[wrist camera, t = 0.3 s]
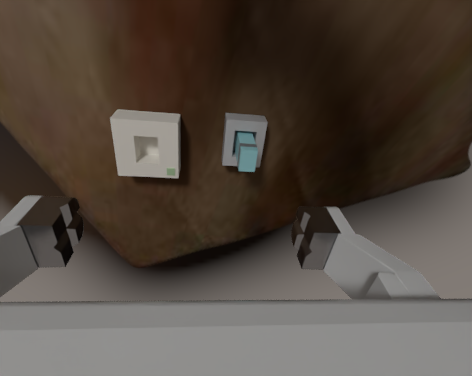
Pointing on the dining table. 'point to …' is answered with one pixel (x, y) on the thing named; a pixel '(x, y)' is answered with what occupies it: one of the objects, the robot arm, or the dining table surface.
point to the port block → (146, 143)
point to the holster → (242, 123)
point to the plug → (245, 151)
